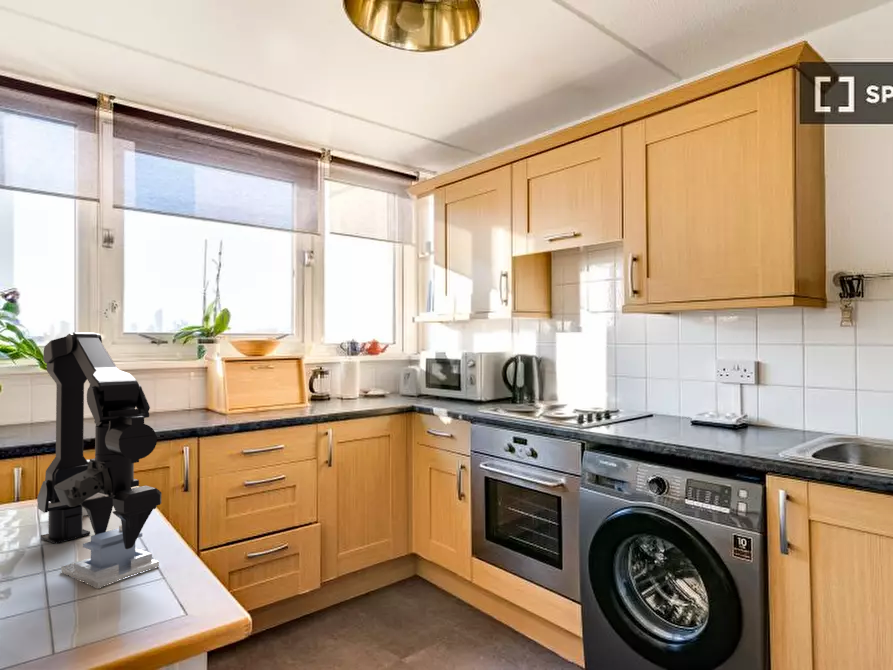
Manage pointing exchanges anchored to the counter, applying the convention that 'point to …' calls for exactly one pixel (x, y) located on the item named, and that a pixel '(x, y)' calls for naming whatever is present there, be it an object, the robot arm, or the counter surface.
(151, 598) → the counter surface
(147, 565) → the mount plate
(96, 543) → the block
